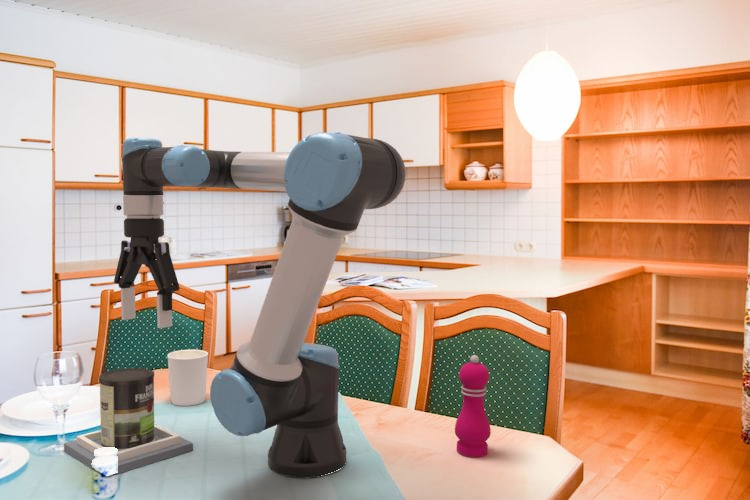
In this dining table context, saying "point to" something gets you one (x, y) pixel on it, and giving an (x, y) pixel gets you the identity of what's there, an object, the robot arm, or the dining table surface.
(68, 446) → the grey square tray
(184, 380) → the candle holder
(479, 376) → the pepper mill
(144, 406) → the coffee can
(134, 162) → the robot arm
